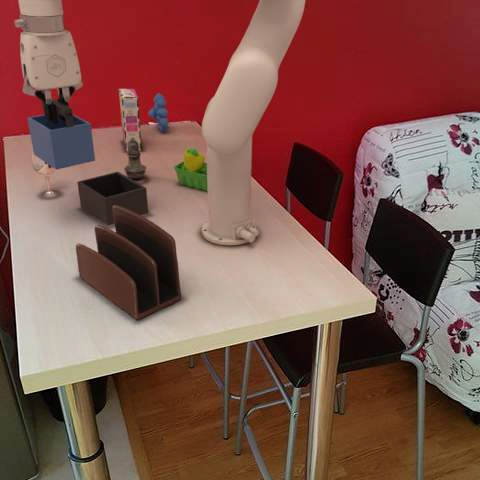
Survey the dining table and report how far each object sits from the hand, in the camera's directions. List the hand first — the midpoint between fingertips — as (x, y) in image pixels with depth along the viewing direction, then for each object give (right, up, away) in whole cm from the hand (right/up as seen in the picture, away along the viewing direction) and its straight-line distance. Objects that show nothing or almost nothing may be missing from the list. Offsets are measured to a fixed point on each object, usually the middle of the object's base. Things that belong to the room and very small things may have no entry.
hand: (58, 120), depth 118 cm
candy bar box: (0, +9, +62) cm, 63 cm away
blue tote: (0, -7, +4) cm, 8 cm away
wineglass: (-13, -11, +28) cm, 33 cm away
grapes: (+5, +17, +76) cm, 78 cm away
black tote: (+6, -16, +21) cm, 27 cm away
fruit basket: (+24, -8, +37) cm, 45 cm away
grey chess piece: (+7, -6, +38) cm, 39 cm away
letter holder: (+16, -35, -7) cm, 39 cm away
